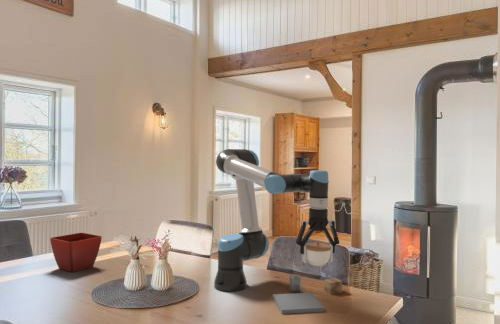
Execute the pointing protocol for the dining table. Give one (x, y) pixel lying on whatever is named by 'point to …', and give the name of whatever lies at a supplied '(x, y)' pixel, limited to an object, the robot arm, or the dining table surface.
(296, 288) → the dark grey metal cylinder
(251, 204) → the robot arm
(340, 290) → the walnut block
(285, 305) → the charcoal board
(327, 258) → the lidded jar
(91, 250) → the plant pot
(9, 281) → the dining table surface
